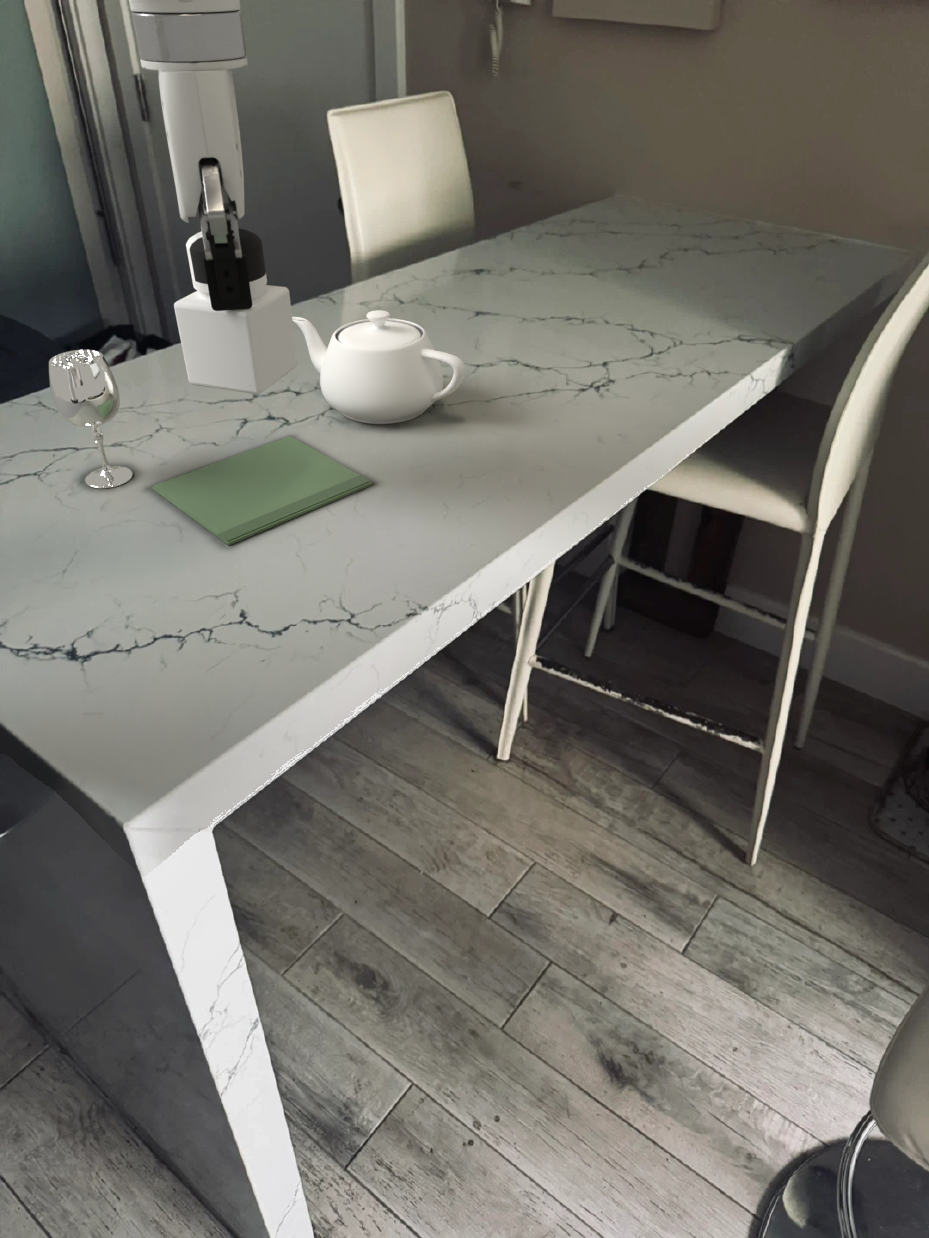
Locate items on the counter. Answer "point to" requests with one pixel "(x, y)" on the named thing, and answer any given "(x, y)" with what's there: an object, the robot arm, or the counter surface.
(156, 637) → the counter surface
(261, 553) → the counter surface
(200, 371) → the medicine bottle
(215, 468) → the napkin
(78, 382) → the wineglass
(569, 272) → the counter surface
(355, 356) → the teapot
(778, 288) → the counter surface
